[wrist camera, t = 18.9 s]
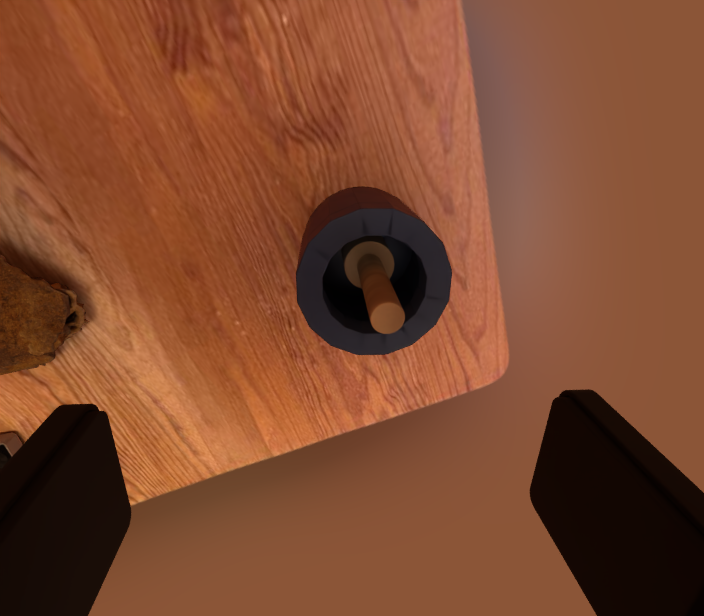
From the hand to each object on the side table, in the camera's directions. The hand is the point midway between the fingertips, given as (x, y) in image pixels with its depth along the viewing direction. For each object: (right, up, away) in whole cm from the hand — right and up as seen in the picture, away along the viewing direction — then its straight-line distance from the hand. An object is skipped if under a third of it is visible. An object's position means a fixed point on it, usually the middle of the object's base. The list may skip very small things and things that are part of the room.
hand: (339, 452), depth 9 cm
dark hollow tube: (+1, +8, +26) cm, 27 cm away
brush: (+1, +8, +25) cm, 27 cm away
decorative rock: (-29, +3, +26) cm, 39 cm away
